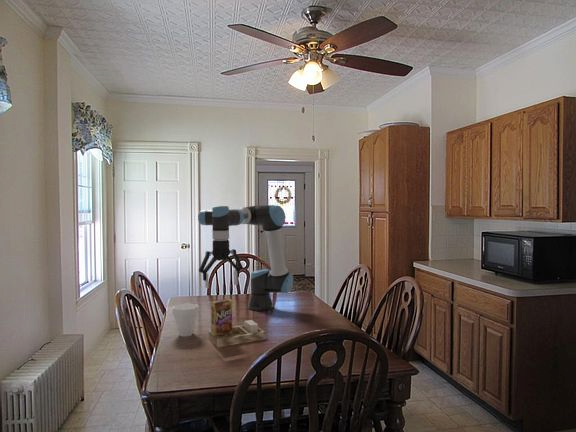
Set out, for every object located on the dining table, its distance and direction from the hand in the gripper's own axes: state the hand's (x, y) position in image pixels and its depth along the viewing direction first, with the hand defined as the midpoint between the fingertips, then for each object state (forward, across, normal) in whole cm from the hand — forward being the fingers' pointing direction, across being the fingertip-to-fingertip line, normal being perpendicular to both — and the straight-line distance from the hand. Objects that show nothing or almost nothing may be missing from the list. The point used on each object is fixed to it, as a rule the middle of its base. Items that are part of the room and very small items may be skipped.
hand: (221, 286), depth 177 cm
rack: (+26, -7, 0) cm, 27 cm away
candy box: (+22, 0, 0) cm, 22 cm away
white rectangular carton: (+25, -14, 0) cm, 29 cm away
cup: (+26, +12, -20) cm, 35 cm away
